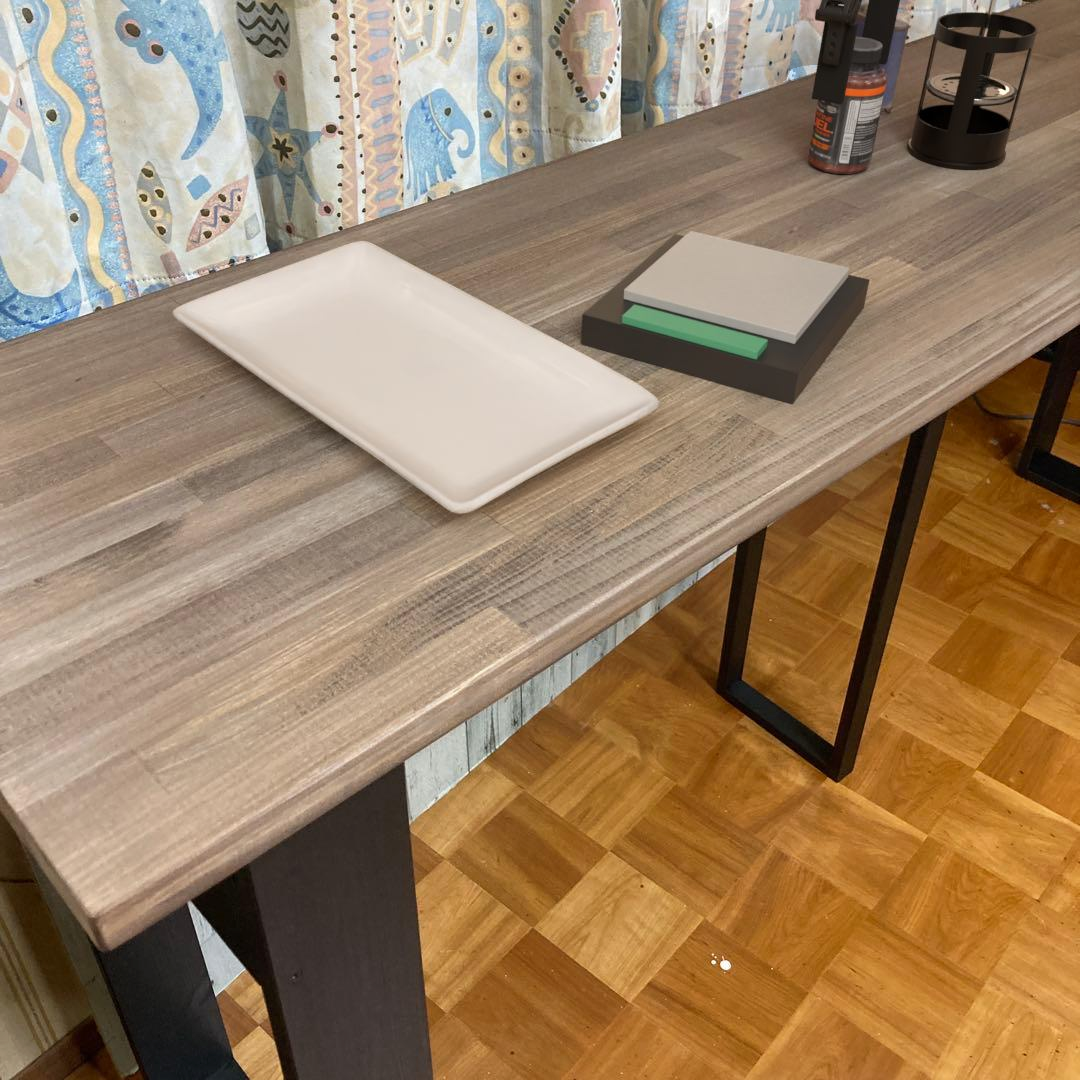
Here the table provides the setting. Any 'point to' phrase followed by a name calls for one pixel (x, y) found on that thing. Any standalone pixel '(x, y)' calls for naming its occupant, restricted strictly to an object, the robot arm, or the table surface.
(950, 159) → the french press
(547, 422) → the tray
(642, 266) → the scale
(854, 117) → the supplement bottle
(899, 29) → the flask
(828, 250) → the table surface
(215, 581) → the table surface
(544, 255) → the table surface
